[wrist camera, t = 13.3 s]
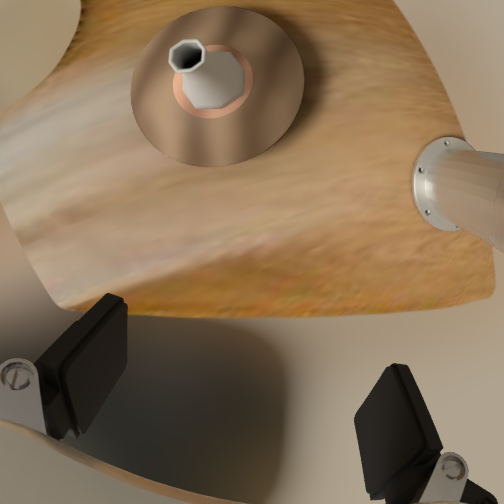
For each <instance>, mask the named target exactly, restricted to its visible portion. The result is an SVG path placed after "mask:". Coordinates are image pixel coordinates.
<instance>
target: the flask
mask: <svg viewBox="0 0 504 504" xmlns="http://www.w3.org/2000/svg"><path fill="white" fill-rule="evenodd" d="M169 64H170V65H171V66H172V68H173V69H174V70H175V72H176V73H177V74H179V73H183V84H182V91H183V92H184V94H185V95H186V96H187V98H188V99H189V100H190V102H191V103H192V105H193V106H194V107H195V109H222V108H224V107H225V106H227V105H228V104H230V103H231V102H233V101H234V100H236V99H237V98H239V97H240V96H242V95H244V81H245V69H244V68H243V67H242V65H241V64H240V63H239V62H238V60H237V59H236V58H235V57H234V55H233V54H232V53H231V52H212V51H207V49H206V48H205V46H204V45H203V44H202V43H201V41H200V40H199V39H198V38H195V39H184V40H181V41H180V42H179V43H177V44H176V45H174V46H173V47H172V48H170V52H169Z"/></svg>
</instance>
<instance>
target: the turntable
mask: <svg viewBox="0 0 504 504" xmlns="http://www.w3.org/2000/svg"><path fill="white" fill-rule="evenodd" d="M195 38H198V39H199V40H200V41H201V43H202V44H203V45H204V46H205V48H206V49H207V51H212V52H231V53H232V54H233V55H234V57H235V58H236V59H237V60H238V62H239V63H240V64H241V65H242V67H243V68H244V69H245V81H244V95H242V96H240V97H239V98H237V99H236V100H234V101H233V102H231V103H230V104H228V105H227V106H225V107H224V108H222V109H195V107H194V106H193V105H192V103H191V102H190V100H189V99H188V98H187V96H186V95H185V94H184V92H183V91H182V84H183V73H179V74H177V73H176V72H175V70H174V69H173V68H172V66H171V65H170V64H169V52H170V48H172V47H173V46H174V45H176V44H177V43H179V42H180V41H181V40H184V39H195ZM303 91H304V71H303V65H302V61H301V58H300V55H299V53H298V50H297V48H296V46H295V45H294V43H293V42H292V40H291V38H290V37H289V36H288V35H287V34H286V33H285V31H284V30H283V29H282V28H280V27H279V26H278V25H277V24H276V23H275V22H273V21H271V20H270V19H268V18H267V17H265V16H263V15H261V14H258V13H256V12H253V11H250V10H247V9H243V8H237V7H225V6H222V7H210V8H205V9H200V10H197V11H193V12H190V13H188V14H186V15H183V16H181V17H179V18H177V19H176V20H174V21H172V22H171V23H169V24H168V25H167V26H165V27H164V28H163V29H161V30H160V31H159V32H158V33H157V34H156V35H155V36H154V37H153V38H152V39H151V41H150V42H149V43H148V44H147V46H146V47H145V49H144V50H143V52H142V53H141V55H140V57H139V59H138V61H137V64H136V67H135V70H134V73H133V77H132V82H131V104H132V109H133V113H134V116H135V119H136V122H137V124H138V126H139V128H140V130H141V131H142V133H143V134H144V136H145V137H146V138H147V140H148V141H149V142H150V143H151V144H152V145H153V146H154V147H155V148H157V149H158V150H159V151H160V152H162V153H163V154H165V155H166V156H168V157H170V158H172V159H174V160H176V161H179V162H181V163H185V164H188V165H192V166H199V167H221V166H228V165H232V164H236V163H240V162H243V161H245V160H248V159H251V158H253V157H255V156H257V155H259V154H261V153H262V152H264V151H265V150H267V149H268V148H269V147H271V146H272V145H273V144H274V143H275V142H277V141H278V140H279V139H280V138H281V136H282V135H283V134H284V133H285V132H286V131H287V129H288V128H289V126H290V125H291V123H292V122H293V120H294V118H295V116H296V114H297V112H298V110H299V107H300V104H301V101H302V96H303Z"/></svg>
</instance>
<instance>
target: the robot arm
mask: <svg viewBox="0 0 504 504" xmlns="http://www.w3.org/2000/svg"><path fill="white" fill-rule="evenodd" d="M444 142H445V144H444ZM419 168H420V171H419ZM412 194H413V199H414V202H415V205H416V207H417V209H418V211H419V213H420V214H421V215H422V217H423V218H424V219H425V220H426V221H427V222H428V223H429V224H431V225H432V226H434V227H436V228H438V229H440V230H443V231H457V230H460V229H464V230H465V231H467V232H469V233H471V234H473V235H474V236H476V237H478V238H480V239H481V240H483V241H485V242H486V243H488V244H490V245H491V246H493V247H495V248H496V249H498V250H500V251H501V252H503V253H504V154H498V153H490V152H480V151H476V150H474V148H473V147H472V146H471V145H470V144H468V143H467V142H465V141H464V140H461V139H459V138H455V137H442V138H437V139H435V140H433V141H431V142H430V143H429V144H427V145H426V146H425V147H424V148H423V150H422V151H421V152H420V153H419V155H418V157H417V159H416V161H415V164H414V168H413V172H412ZM425 211H426V212H425ZM127 312H128V306H127V304H126V303H124V300H123V298H122V297H119V296H116V295H113V294H110V293H107V294H105V295H104V296H103V297H102V298H101V299H100V300H99V301H98V302H97V303H96V304H95V305H94V306H93V307H92V308H91V309H90V310H89V311H88V312H87V313H86V314H85V315H84V316H83V317H81V319H79V320H78V321H76V322H74V323H73V324H72V325H71V326H70V327H69V328H68V329H67V330H66V331H65V332H64V333H63V334H62V335H61V336H60V337H59V338H58V339H57V340H56V341H55V342H54V343H53V344H52V345H51V346H50V347H49V348H48V349H47V350H46V351H45V352H44V354H43V355H42V356H41V357H40V358H39V359H38V360H37V361H36V362H35V363H34V364H32V363H31V362H29V361H27V360H24V359H18V358H16V359H10V360H8V361H6V362H4V363H3V364H2V365H1V366H0V504H246V503H239V502H234V501H228V500H223V499H218V498H214V497H209V496H204V495H200V494H196V493H192V492H188V491H185V490H181V489H177V488H173V487H170V486H167V485H164V484H161V483H157V482H154V481H151V480H148V479H146V478H143V477H140V476H137V475H135V474H132V473H129V472H127V471H124V470H122V469H119V468H116V467H114V466H112V465H109V464H107V463H105V462H102V461H100V460H97V459H95V458H93V457H91V456H89V455H87V454H84V453H82V452H80V451H78V450H76V449H74V448H72V447H70V446H68V445H66V444H64V443H62V440H61V439H63V438H64V436H65V435H66V434H68V435H70V436H72V437H73V438H75V439H77V437H78V436H79V434H80V433H82V434H84V433H85V432H86V431H87V429H88V428H89V426H90V424H91V423H92V421H93V419H94V418H95V416H96V415H97V413H98V411H99V410H100V408H101V406H102V405H103V403H104V401H105V400H106V398H107V397H108V395H109V393H110V392H111V390H112V389H113V387H114V385H115V384H116V382H117V381H118V379H119V377H120V376H121V374H122V373H123V371H124V370H125V368H126V365H127ZM354 423H355V429H356V434H357V439H358V445H359V450H360V456H361V462H362V468H363V474H364V481H365V487H366V491H367V493H370V500H382V499H384V498H385V501H386V503H385V504H498V502H497V499H496V498H495V497H494V495H492V494H491V493H490V492H488V491H486V490H485V489H483V488H481V487H480V486H478V485H477V484H475V483H474V482H472V481H470V480H469V479H467V477H468V466H467V464H466V461H465V460H464V459H463V458H462V457H461V456H460V455H458V454H456V453H454V452H447V453H444V454H442V455H441V454H440V451H441V450H442V449H443V446H442V443H441V440H440V438H439V435H438V433H437V430H436V428H435V425H434V423H433V420H432V418H431V416H430V413H429V411H428V409H427V406H426V404H425V402H424V400H423V397H422V395H421V393H420V390H419V388H418V386H417V384H416V382H415V379H414V377H413V375H412V373H411V371H410V369H409V367H408V366H407V365H404V364H396V363H394V364H392V365H390V366H389V367H386V369H385V370H384V372H383V373H382V375H381V377H380V378H379V380H378V381H377V383H376V384H375V386H374V387H373V389H372V391H371V392H370V394H369V395H368V397H367V398H366V399H365V401H364V402H363V404H362V405H361V407H360V408H359V410H358V411H357V412H356V414H355V417H354Z"/></svg>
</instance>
